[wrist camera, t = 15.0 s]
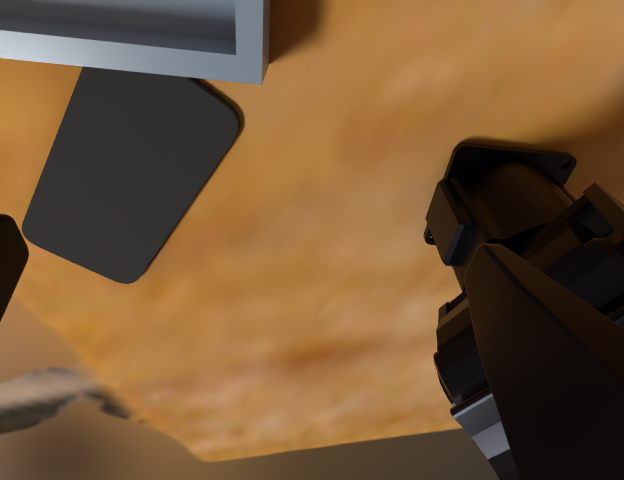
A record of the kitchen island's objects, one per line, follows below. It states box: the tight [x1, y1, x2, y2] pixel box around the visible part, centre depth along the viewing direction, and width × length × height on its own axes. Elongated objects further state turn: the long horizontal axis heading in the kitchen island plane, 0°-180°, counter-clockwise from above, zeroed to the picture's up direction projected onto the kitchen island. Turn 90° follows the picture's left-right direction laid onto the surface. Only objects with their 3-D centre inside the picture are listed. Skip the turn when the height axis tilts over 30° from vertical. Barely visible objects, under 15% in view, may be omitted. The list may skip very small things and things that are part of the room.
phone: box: [22, 66, 240, 284], centre depth 22 cm, size 7×1×15 cm
